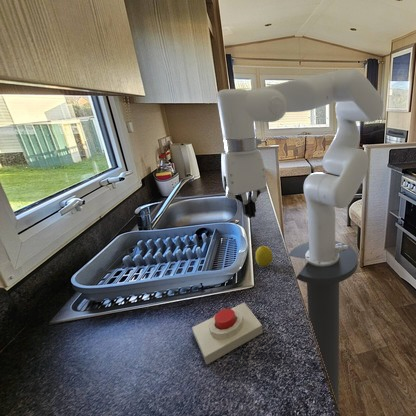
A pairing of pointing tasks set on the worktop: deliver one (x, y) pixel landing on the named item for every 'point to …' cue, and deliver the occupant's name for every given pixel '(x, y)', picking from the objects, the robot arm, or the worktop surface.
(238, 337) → the switch block
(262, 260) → the lemon
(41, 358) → the worktop surface
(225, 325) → the button
